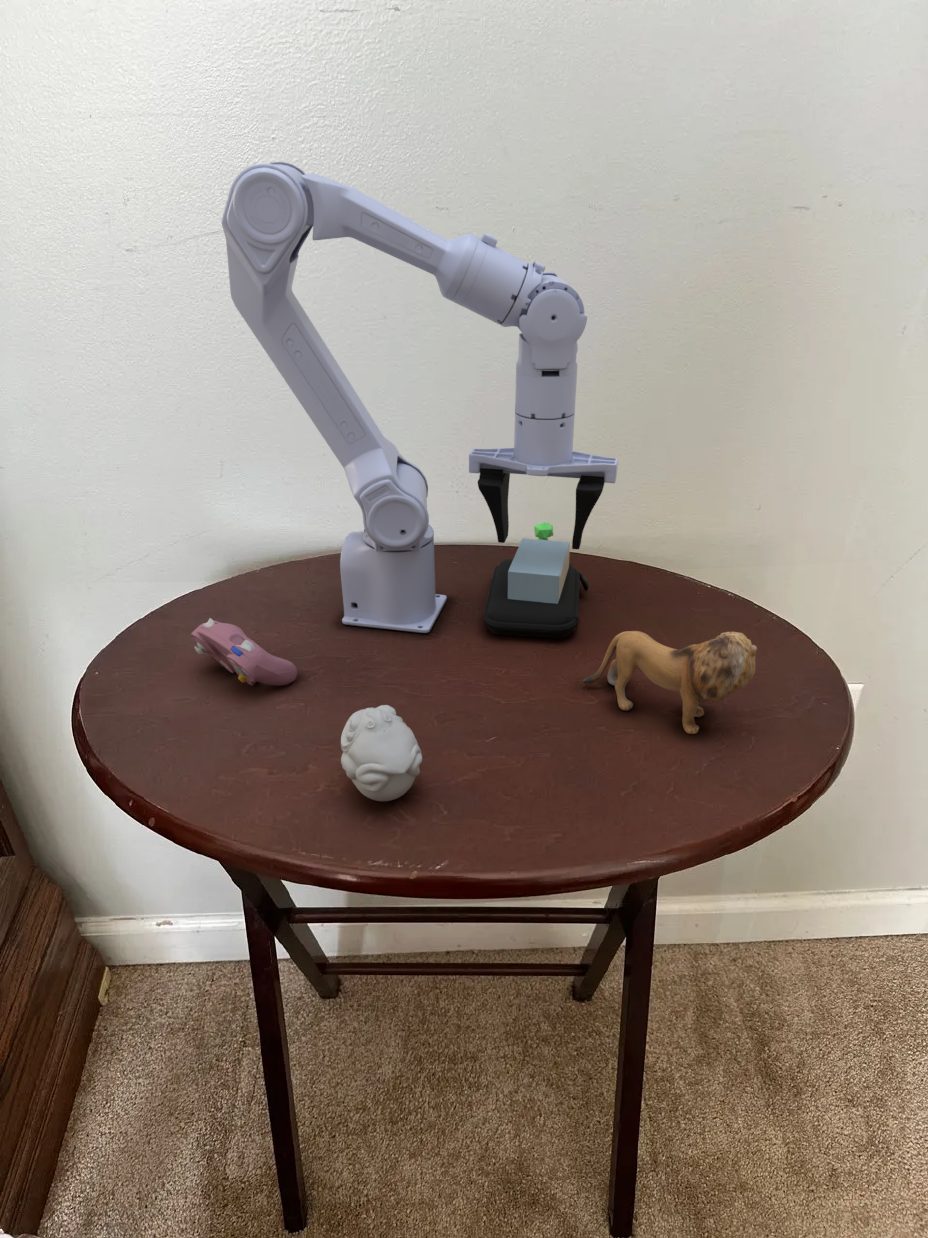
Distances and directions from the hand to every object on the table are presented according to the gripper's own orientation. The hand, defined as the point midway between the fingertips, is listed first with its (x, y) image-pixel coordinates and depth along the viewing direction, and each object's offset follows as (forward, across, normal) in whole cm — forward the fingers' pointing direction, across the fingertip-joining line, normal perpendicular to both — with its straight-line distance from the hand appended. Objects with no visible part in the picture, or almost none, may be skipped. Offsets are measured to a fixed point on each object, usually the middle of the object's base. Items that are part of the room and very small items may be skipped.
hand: (539, 542), depth 88 cm
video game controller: (+8, -25, -19) cm, 32 cm away
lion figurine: (+8, +14, -16) cm, 23 cm away
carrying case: (+8, 0, 0) cm, 8 cm away
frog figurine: (+8, -7, -32) cm, 34 cm away
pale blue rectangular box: (+5, 0, 0) cm, 5 cm away
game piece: (+8, -1, +10) cm, 13 cm away
